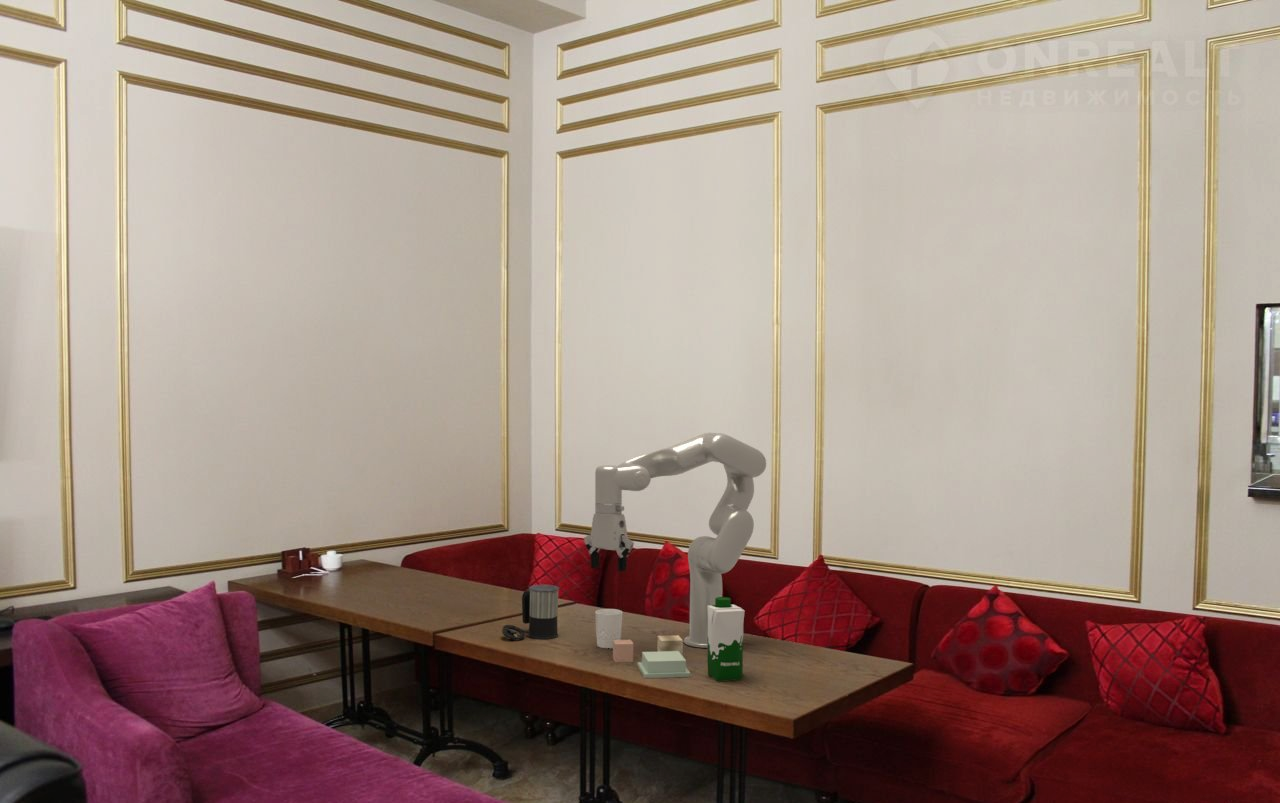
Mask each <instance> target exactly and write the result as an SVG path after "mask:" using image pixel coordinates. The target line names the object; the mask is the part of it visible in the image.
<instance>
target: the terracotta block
mask: <svg viewBox="0 0 1280 803" xmlns="http://www.w3.org/2000/svg"><path fill="white" fill-rule="evenodd" d="M612 659H613V661H614V663H633V662H634V642H633V641H632V639H620V640H613V648H612Z"/></svg>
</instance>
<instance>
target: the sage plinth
mask: <svg viewBox="0 0 1280 803" xmlns="http://www.w3.org/2000/svg"><path fill="white" fill-rule="evenodd" d="M637 668H638V669H639V671H640V673H641V674H642V676H643V678H644V679H659V678H690V677H691V672H690V671H689V669H688V668H687V660H686V659H685V657H684V656H682V655H681V654H680V652H679V651H660V652H657V651H641V661H637Z"/></svg>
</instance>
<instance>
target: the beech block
mask: <svg viewBox="0 0 1280 803" xmlns="http://www.w3.org/2000/svg"><path fill="white" fill-rule="evenodd" d="M656 644H657V647H656V648H657V651H656V652H660V651H679V652H680V654H681V655H682V656H683V653H684V650H683V649H684V639H682V638H681V636H680V635H678V634H677V635H657V643H656ZM683 657H684V656H683Z"/></svg>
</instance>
